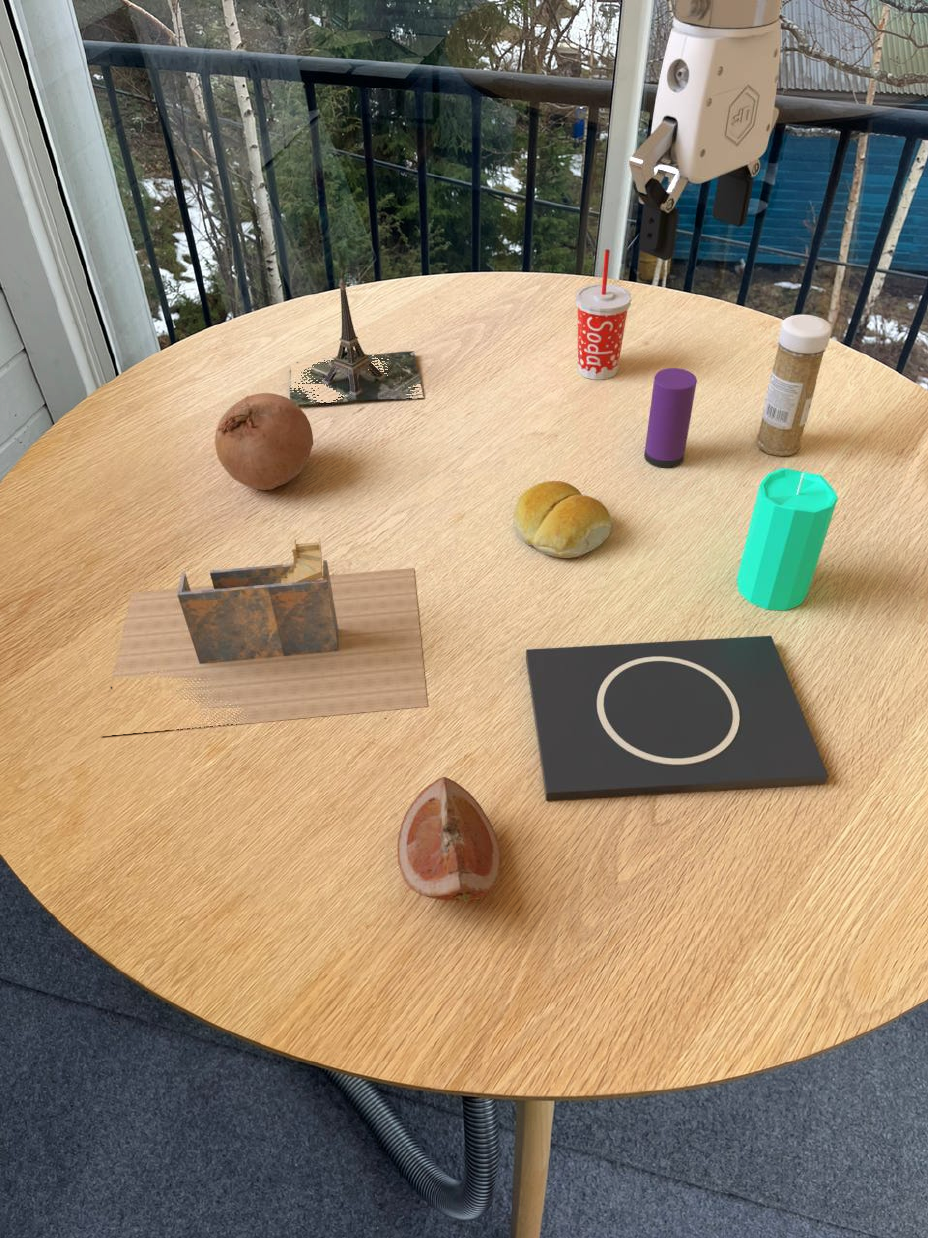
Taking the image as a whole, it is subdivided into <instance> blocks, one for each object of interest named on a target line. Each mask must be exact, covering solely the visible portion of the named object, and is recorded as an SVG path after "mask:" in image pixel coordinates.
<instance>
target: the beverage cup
mask: <svg viewBox="0 0 928 1238" xmlns="http://www.w3.org/2000/svg"><path fill="white" fill-rule="evenodd" d="M610 251H611V250H610V249H608V248H606V249H605V250H604V260H603V271H602V283H593V284H588V285H585V286H583V287H581V288H579V289H578V290H577V291H576V292H575V301H574V302H575V307H577V373H578V374H579V375H580V376H582V377H583V378H586V379H589V380H594V381H603V380H608V379H612V377H614V376H616V374H617V372H618V370H619V363H620V358H621V351H622V346H623V339H624V334H625V327H626V323H627V322H626V321H627V317H628V310H629V308H630V307H631V305H632V304H631V303H632V299H633V297H632V293H631V292H630V291H629V290H628V289H627V288H626V287H622V286H620V285H618V284H612V283H608V275H609V263H610Z"/></svg>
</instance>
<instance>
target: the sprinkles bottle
mask: <svg viewBox="0 0 928 1238" xmlns="http://www.w3.org/2000/svg"><path fill="white" fill-rule="evenodd" d="M831 334H832V326H831V324H830V323H829V322H828V321H827V320H826V319H824V318H822V317H819V316H816V315H812V314H795V315H794V314H793V315H790V316H788V317H786V318H785V319H783V320H782V322H781V325H780V329H779V333H778V337H777V341H778V342H777V344H778V346H777V347H778V348H777V351H776V355H775V359H774V362H773V367H772V370H771V373H770V378H769V383H768V387H767V390H766V395H765V400H764V404H763V408H762V414H761V415H762V416H761V421H760V426H759V430H758V433H757V435H756V438H755V442H756V443H755V444H756V445H757V447H758V448H759V449H760V450H761V451H763V452H765V453H767V454H768V455H769V454H770V455H772V456H777V457H786V456H791V455H794V454H796V453H797V452H798V451H799V450H800V449H801V446H802V438H803V434H804V430H805V426H806V424H807V421H808V419H809V418H808V417H809V413H810V410H811V406H812V403H813V398H814V393H815V389H816V386H817V380H818V376H819V372H820V369H821V365H822V362H823V356H824V353H825V352H826V349H827V348H828V346H829V343H830V340H831Z"/></svg>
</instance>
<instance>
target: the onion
mask: <svg viewBox="0 0 928 1238" xmlns="http://www.w3.org/2000/svg"><path fill="white" fill-rule="evenodd" d="M312 429H313V428H312V425H311V423H310V421H309V419H308V417H307V414H306V413H304V411H303V410H302V409H301V407H300V406H299V405H298V404H295V403H294V402H293V401H291V400H290V398H288V397H286V396H284V395H281V394H277V393H271V392H260V393H256V394H255V393H254V394H252V395H246V396H245V397H244V398H242V399H240V400H238V401H237V402H236V403H234V404H233V405H231V406H230V407H229V408H228V409H227V410H226V411H225V413H224V414H222V416H221V418H220V420H219V422H218V424H217V427H216V429H215V434H214V435H215V436H214V445H215V451H216V455H217V459H218V461H219V462H220V465H221V466H222V467H223V469H224V470H225V471H226V473H228V474H229V476H230V477H232V478H233V480H235V481H236V482H238V483H239V484H242V485H243V486H246V487H249V488H253V489H256V490H262V491H266V490H274V489H275V488H278V487H281V486H283V485H285V484H287V483H288V482H290V481H291V480H293V479H294V478H295V477H297V476H298V475H299V474H300V473H301V472H302V471H303V469H305V466H306V464H307V463H308V461H309V459H310V456H311V453H312V449H313V446H314V434H313V430H312Z"/></svg>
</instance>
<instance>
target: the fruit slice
mask: <svg viewBox="0 0 928 1238" xmlns="http://www.w3.org/2000/svg"><path fill="white" fill-rule="evenodd" d="M413 800H414V801H412V802H411V804H410V806H409V807H408V809H407V811H406V813H405V815H404V817H403V819H402V822H401V825H400V829H399V833H398V839H397V862H398V866H399V870H400V873H401V875H402V877H403V881H404V882H405V883H406V885H407V886H408V887H409V888H410V889H411V890H412V891H413V892H415V893H416V894H418V895H420V896H423V897H427V898H430V899H435V900H439V901H441V900H442V901H448V902H449V901H450V902H454V901H458V902H465V903H468V902H469V901H471V900H477V899H478V900H479V899H482V898H484V897H486V896H487V895H489V894H490V893H491V892H492V891H493V890H494V888H495V886H496V885H497V883H498V882H499V878H500V875H501V864H502V859H501V858H502V857H501V851H500V850H501V849H500V844H499V841H498V837H497V834H496V831H495V829H494V827H493V825H492V823H491V821H490V819H489V817H488V816H487V814H486V813H485V811H484V809H483V808H482V806H481V805H480V803H479V802H478V801H477V799H476V798H475V797H474V796H473V795H472V794H471V793H470V792H469V791H468V790H466V789H465V788H464V787H463V786H461V785H460V784H459V783H458V782H456V781H454V780H452V779H450V778H449V777H445V776H442V777H439V778H438V779H436V780H435V781H434V782H432V783H430V784H429V785H427V786H426V787H425V788H424V789H423V790H422V791H421V792H419V794H418V795H417V796H416V797H415V799H413Z"/></svg>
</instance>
